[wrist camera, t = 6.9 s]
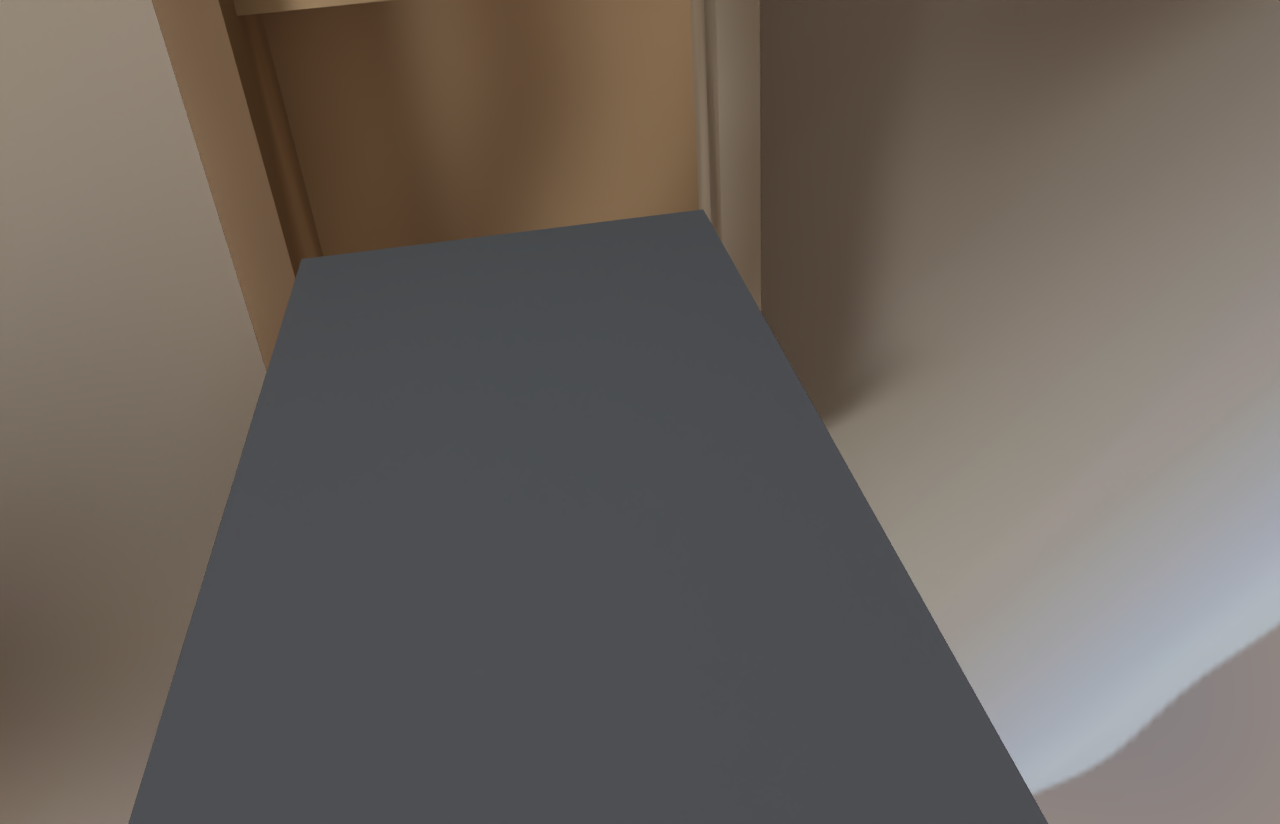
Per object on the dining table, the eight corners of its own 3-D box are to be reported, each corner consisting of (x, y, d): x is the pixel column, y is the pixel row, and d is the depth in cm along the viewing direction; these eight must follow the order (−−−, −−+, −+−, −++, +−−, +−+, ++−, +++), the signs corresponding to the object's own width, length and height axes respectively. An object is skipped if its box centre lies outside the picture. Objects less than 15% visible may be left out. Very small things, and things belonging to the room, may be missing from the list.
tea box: (432, 746, 17) (414, 1655, 9) (301, 258, 12) (-6, 1263, 4) (729, 695, 18) (973, 1516, 9) (715, 208, 13) (1190, 1015, 5)
